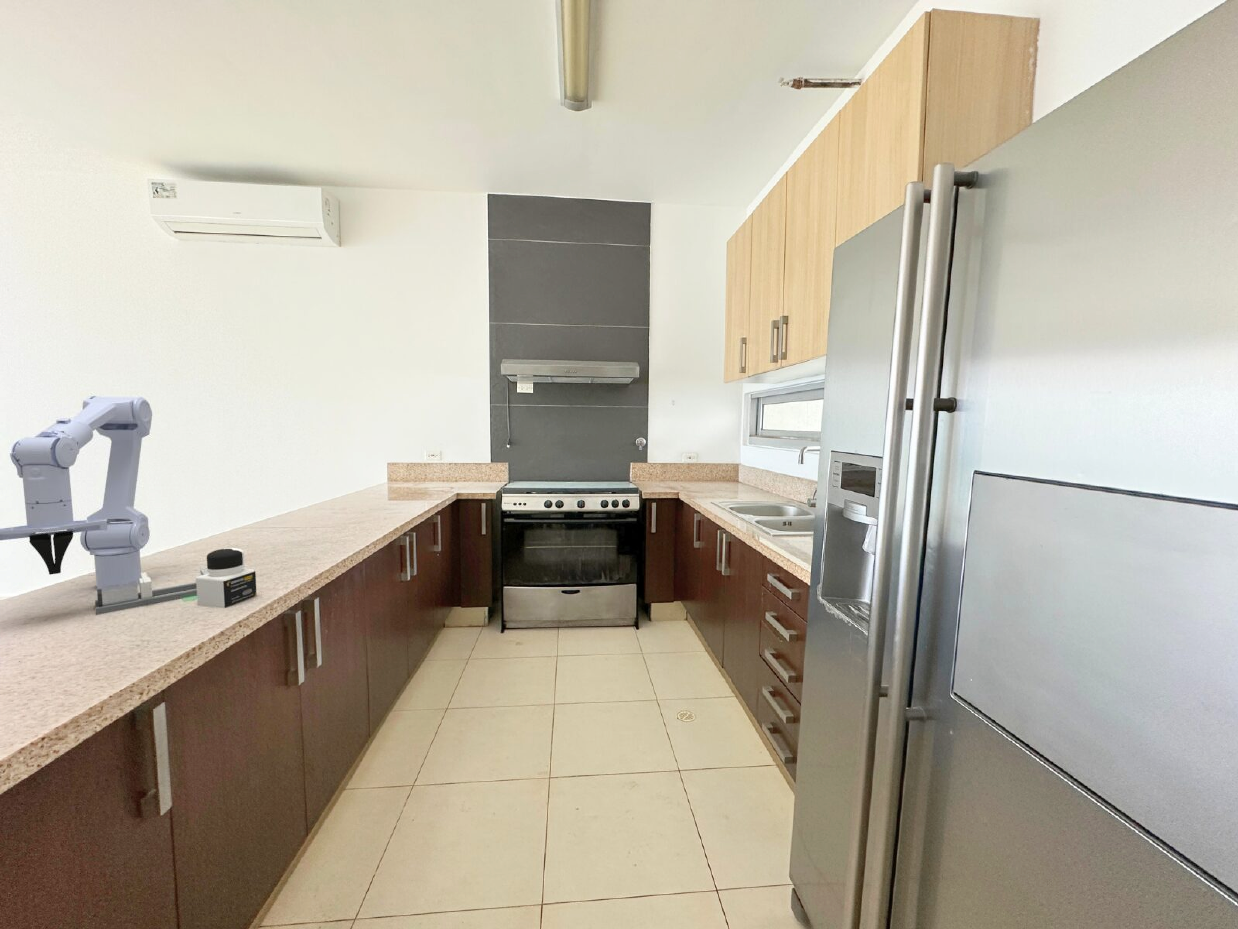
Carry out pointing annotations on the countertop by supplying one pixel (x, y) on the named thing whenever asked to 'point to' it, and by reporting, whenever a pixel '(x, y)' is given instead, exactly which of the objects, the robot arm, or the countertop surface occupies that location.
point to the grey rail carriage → (117, 594)
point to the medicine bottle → (225, 579)
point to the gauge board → (148, 601)
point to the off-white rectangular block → (145, 586)
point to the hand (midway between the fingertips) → (55, 572)
